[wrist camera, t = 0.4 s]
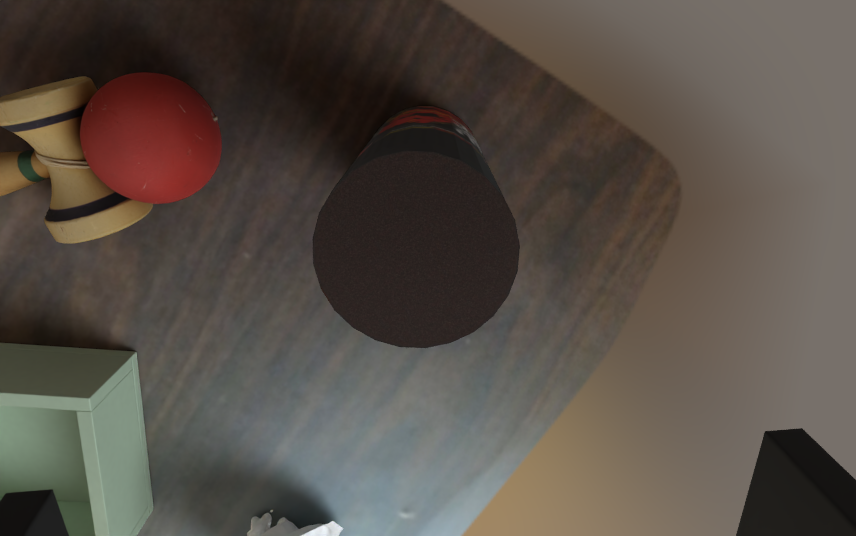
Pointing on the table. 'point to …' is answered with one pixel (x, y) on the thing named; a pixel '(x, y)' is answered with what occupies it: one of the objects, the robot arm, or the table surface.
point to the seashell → (290, 528)
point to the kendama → (109, 149)
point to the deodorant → (417, 234)
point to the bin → (76, 435)
